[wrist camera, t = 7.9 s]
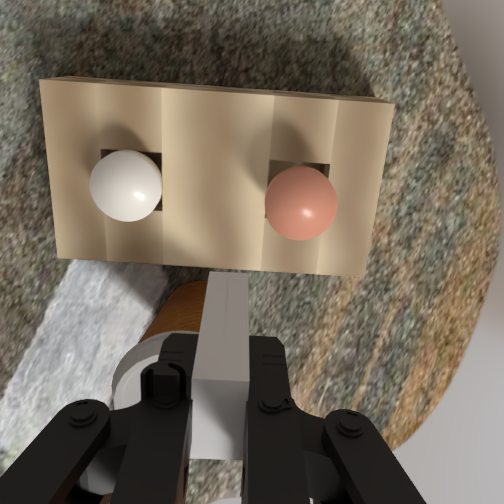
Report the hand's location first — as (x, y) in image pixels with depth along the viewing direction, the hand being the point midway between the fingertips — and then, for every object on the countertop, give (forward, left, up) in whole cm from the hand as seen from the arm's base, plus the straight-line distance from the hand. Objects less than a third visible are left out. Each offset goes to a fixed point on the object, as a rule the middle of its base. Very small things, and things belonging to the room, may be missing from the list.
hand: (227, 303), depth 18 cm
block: (-2, +1, -19) cm, 19 cm away
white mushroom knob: (-7, +1, -17) cm, 19 cm away
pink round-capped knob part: (+4, +1, -16) cm, 16 cm away
